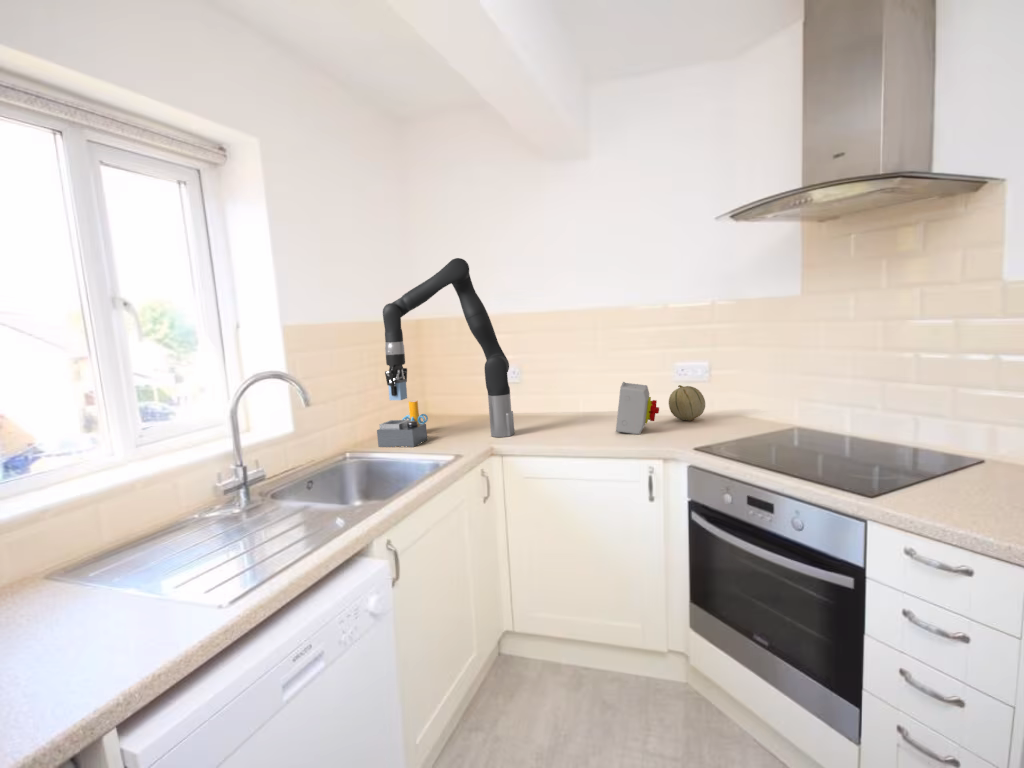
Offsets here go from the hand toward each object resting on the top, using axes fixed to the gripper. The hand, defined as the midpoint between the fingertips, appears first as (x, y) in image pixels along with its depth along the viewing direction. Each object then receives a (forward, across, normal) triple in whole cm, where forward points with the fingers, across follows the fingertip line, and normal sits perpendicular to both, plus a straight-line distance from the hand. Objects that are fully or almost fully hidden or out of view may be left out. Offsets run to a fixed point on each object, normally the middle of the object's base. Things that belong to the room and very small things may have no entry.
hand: (398, 394), depth 210 cm
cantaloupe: (+18, +42, -113) cm, 122 cm away
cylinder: (+21, +16, +2) cm, 26 cm away
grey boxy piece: (+20, -1, -1) cm, 20 cm away
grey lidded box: (+2, 0, 0) cm, 2 cm away
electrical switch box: (+18, +22, -94) cm, 98 cm away
